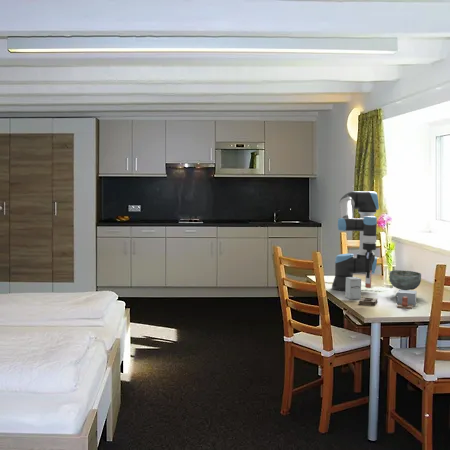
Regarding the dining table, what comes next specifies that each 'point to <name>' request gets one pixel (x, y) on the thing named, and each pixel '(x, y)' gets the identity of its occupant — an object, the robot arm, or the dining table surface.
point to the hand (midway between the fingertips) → (368, 282)
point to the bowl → (405, 279)
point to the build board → (368, 301)
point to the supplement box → (353, 288)
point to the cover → (406, 293)
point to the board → (405, 303)
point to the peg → (368, 284)
